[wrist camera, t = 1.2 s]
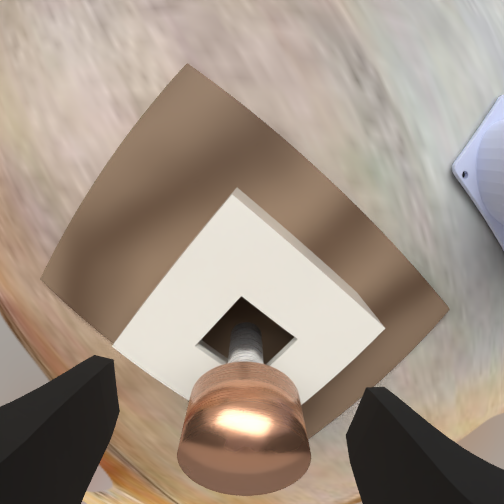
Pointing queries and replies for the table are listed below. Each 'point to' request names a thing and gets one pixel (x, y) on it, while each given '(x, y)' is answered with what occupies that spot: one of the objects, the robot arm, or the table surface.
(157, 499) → the table surface
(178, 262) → the hollow square block
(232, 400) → the plunger
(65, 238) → the board
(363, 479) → the robot arm
